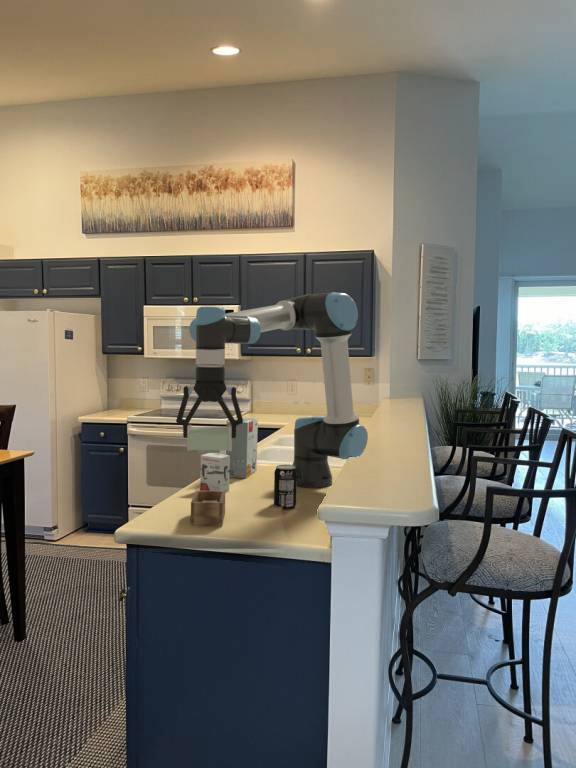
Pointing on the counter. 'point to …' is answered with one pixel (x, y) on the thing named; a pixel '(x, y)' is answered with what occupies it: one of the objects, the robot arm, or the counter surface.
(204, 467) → the ink box
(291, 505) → the beverage can
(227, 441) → the lid
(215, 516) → the crate
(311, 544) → the counter surface
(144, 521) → the counter surface
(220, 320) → the robot arm
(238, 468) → the hard drive box
